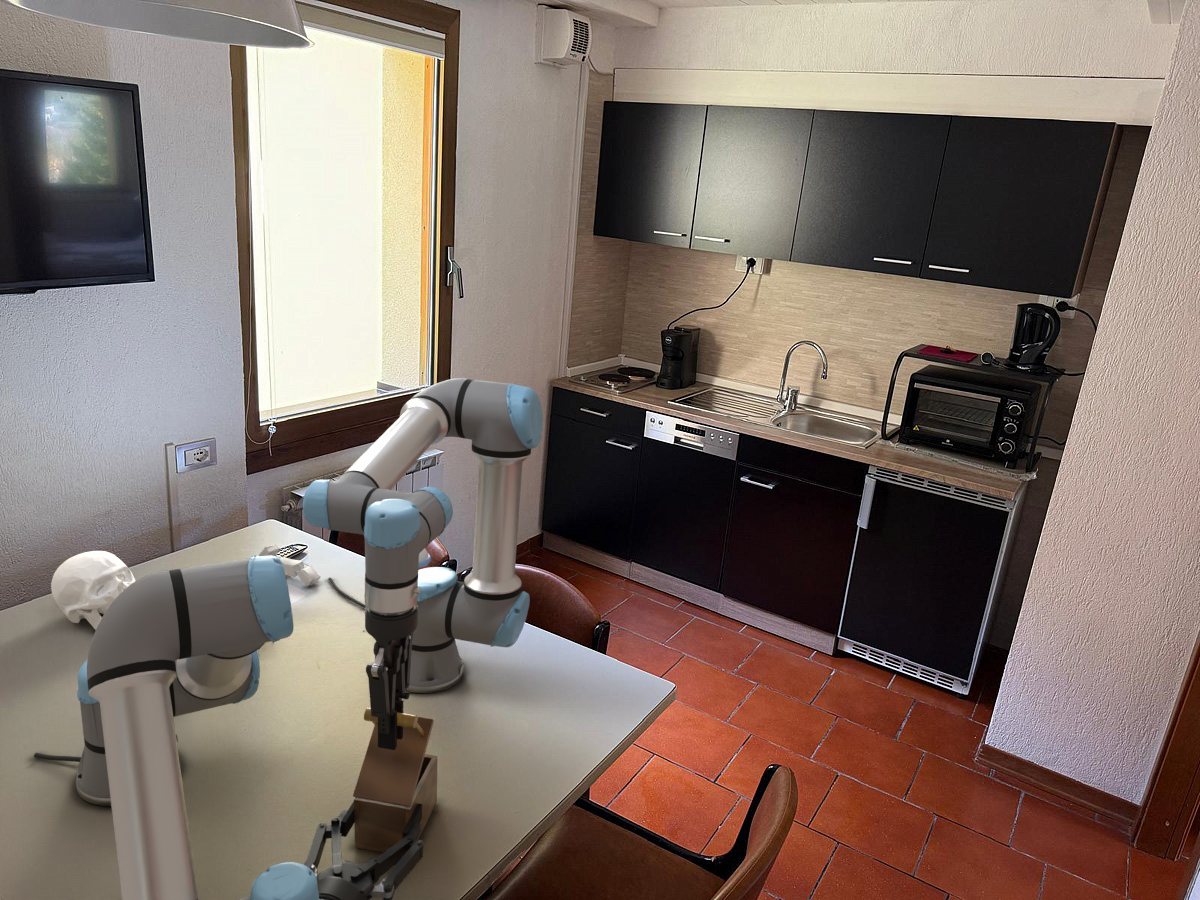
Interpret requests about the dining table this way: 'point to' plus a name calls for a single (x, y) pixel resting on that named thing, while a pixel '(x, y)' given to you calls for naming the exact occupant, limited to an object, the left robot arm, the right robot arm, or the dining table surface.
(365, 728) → the dining table surface
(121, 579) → the skull
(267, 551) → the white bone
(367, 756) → the lid
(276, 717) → the dining table surface
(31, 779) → the dining table surface
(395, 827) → the chest
